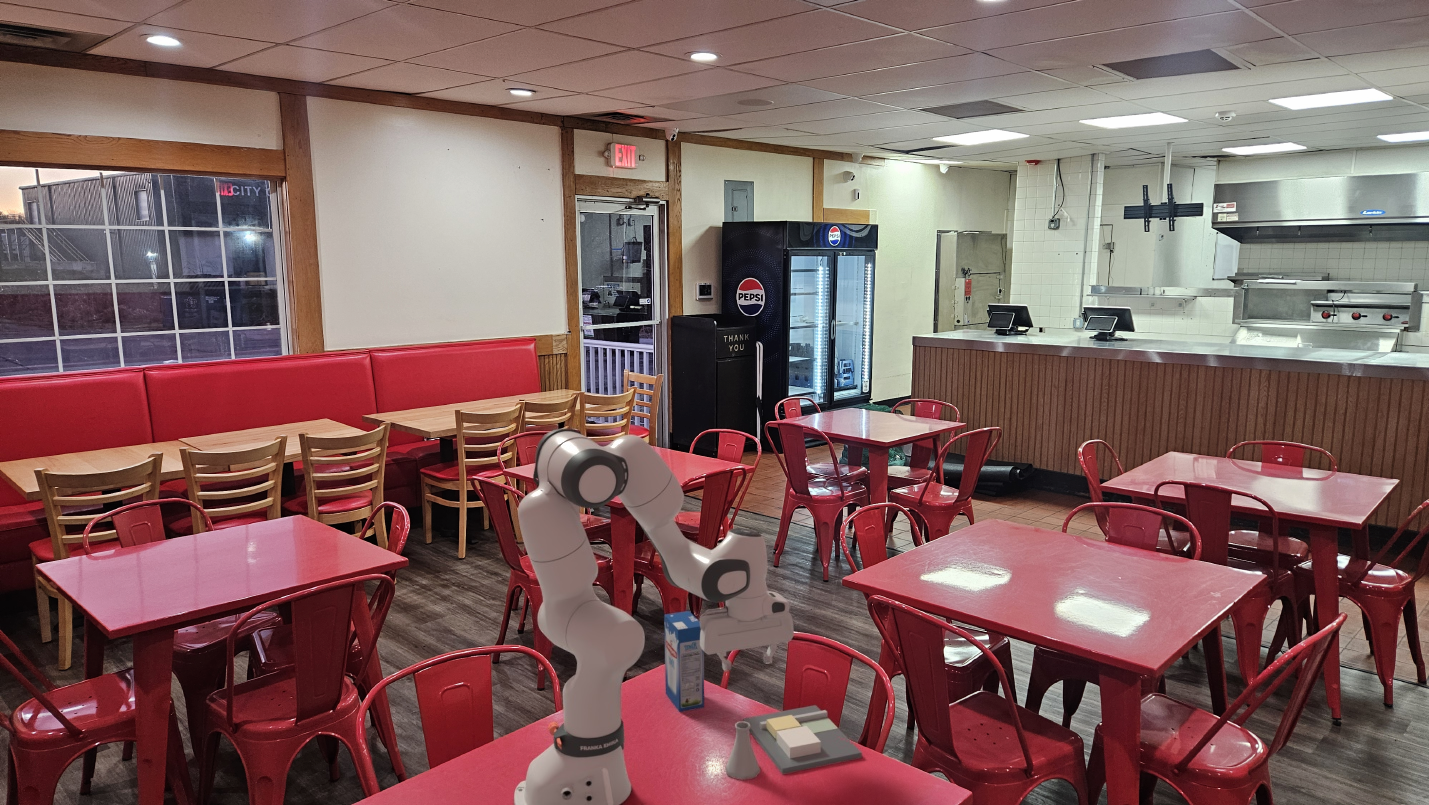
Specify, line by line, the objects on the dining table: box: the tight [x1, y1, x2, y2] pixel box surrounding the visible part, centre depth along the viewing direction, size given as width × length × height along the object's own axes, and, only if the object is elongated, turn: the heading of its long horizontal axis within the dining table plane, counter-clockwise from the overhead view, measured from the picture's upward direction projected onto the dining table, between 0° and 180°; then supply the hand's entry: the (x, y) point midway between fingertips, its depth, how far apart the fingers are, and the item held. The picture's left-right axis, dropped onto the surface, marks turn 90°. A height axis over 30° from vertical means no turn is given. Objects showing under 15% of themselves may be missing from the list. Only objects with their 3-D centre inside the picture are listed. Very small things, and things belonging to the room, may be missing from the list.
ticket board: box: [742, 704, 863, 775], centre depth 197 cm, size 18×22×4 cm
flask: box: [725, 720, 762, 780], centre depth 185 cm, size 7×7×10 cm
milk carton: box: [663, 610, 705, 713], centre depth 214 cm, size 10×6×20 cm, turn 22°
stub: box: [767, 715, 801, 739], centre depth 198 cm, size 6×5×2 cm
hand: (747, 666), depth 193 cm, fingers open, 8 cm apart
